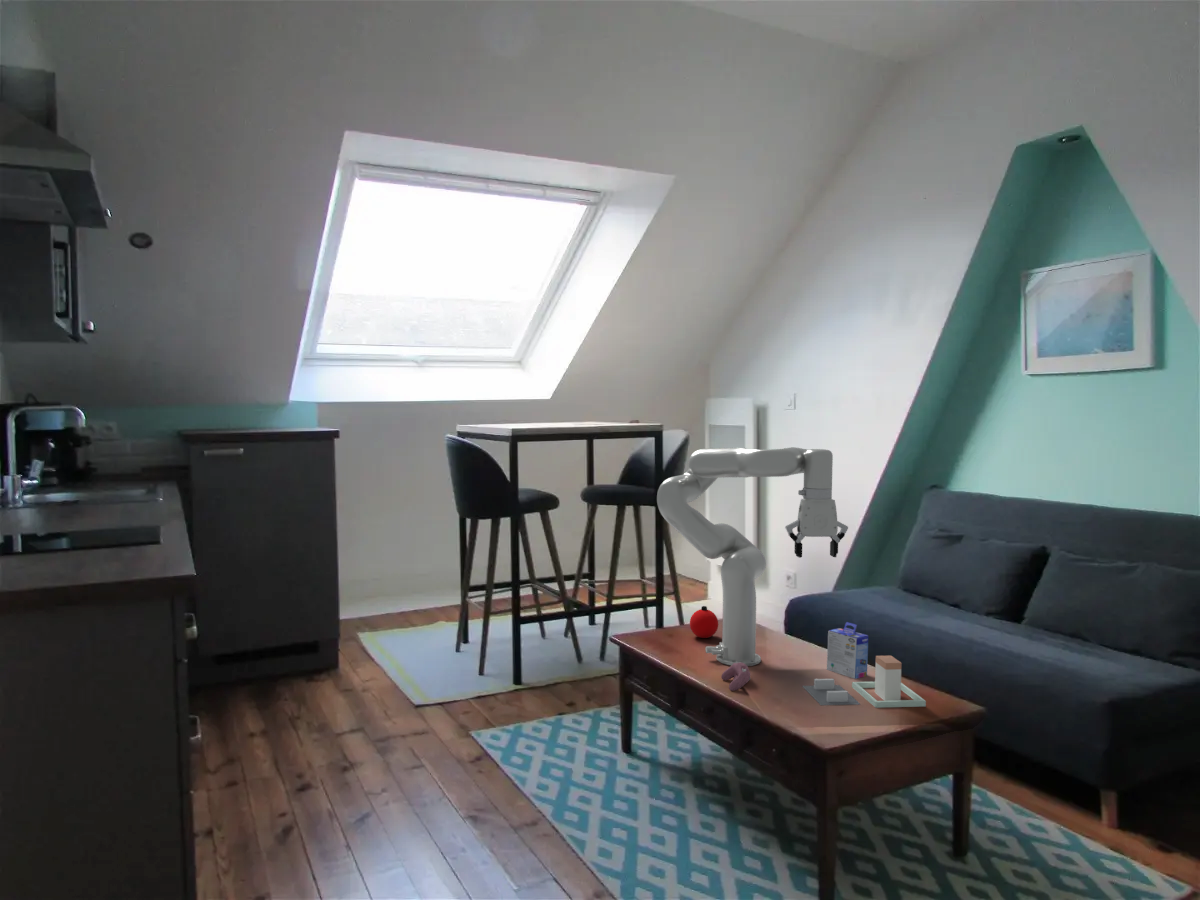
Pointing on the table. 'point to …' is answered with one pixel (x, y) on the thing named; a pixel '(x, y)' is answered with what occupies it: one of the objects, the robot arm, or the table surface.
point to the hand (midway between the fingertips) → (816, 556)
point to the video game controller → (737, 675)
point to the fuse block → (829, 693)
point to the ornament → (704, 623)
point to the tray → (915, 702)
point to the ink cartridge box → (847, 652)
